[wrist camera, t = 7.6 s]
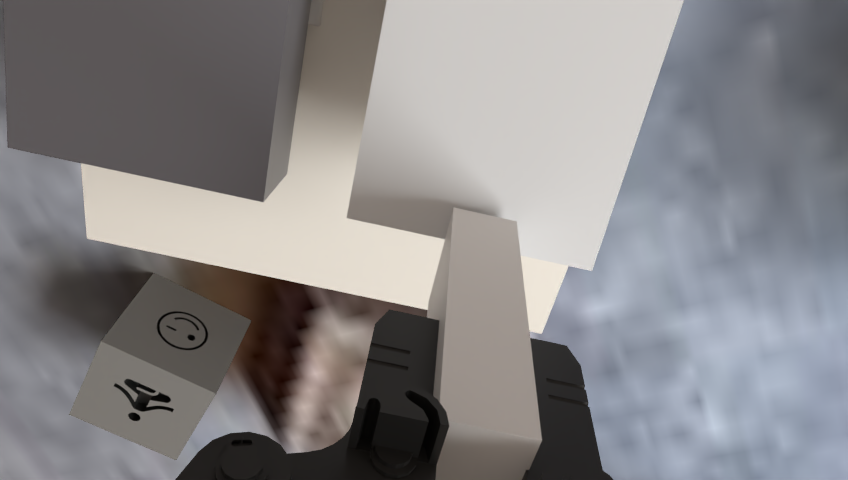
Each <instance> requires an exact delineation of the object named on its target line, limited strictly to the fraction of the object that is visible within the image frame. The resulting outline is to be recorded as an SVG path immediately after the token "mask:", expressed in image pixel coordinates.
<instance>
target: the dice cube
mask: <svg viewBox="0 0 848 480" xmlns="http://www.w3.org/2000/svg"><path fill="white" fill-rule="evenodd" d="M250 322H251V320H249V319H247V318H245V317H243V316H241V315H239V314H237V313H235V312H233V311H231V310H229V309H227V308H225V307H222V306H220V305H218V304H216V303H214V302H212V301H210V300H208V299H206V298H204V297H202V296H200V295H198V294H196V293H194V292H192V291H190V290H188V289H186V288H184V287H182V286H179V285H177V284H175V283H173V282H171V281H169V280H167V279H165V278H163V277H161V276H159V275H157V274H155V273H153V274H152V276H151V277H150V278H149V280H148V281H147V282H146V283H145V285H144V286H143V287H142V289H141V290H140V291H139V293H138V294H137V295H136V296H135V298H134V299H133V300H132V302H131V303H130V304H129V305H128V307H127V308H126V309H125V311H124V312H123V313H122V315H121V316H120V317H119V318H118V320H117V321H116V322H115V324H114V325H113V326H112V328H111V329H110V330H109V331H108V333H107V334H106V335H105V337H104V338H103V339H102V340H101V342H100V344H99V347H98V349H97V351H96V354H95V356H94V358H93V361H92V363H91V365H90V368H89V370H88V372H87V374H86V377H85V379H84V381H83V384H82V386H81V388H80V391H79V393H78V395H77V397H76V400H75V402H74V404H73V407H72V409H71V411H70V414H69V415H71V416H74V417H76V418H78V419H81V420H83V421H85V422H88V423H90V424H92V425H95V426H97V427H99V428H102V429H104V430H106V431H109V432H111V433H113V434H116V435H118V436H120V437H123V438H125V439H127V440H130V441H132V442H135V443H137V444H139V445H142V446H144V447H146V448H149V449H151V450H153V451H156V452H158V453H160V454H163V455H165V456H167V457H170V458H172V459H174V460H177V458H178V456H179V455H180V453H181V451H182V450H183V448H184V446H185V445H186V443H187V441H188V440H189V438H190V436H191V435H192V433H193V431H194V430H195V428H196V426H197V425H198V423H199V421H200V420H201V418H202V416H203V415H204V413H205V411H206V410H207V408H208V406H209V405H210V403H211V401H212V400H213V398H214V396H215V395H216V393H217V391H218V389H219V387H220V385H221V382H222V380H223V378H224V376H225V374H226V372H227V370H228V368H229V366H230V364H231V362H232V360H233V358H234V356H235V353H236V351H237V349H238V347H239V345H240V343H241V341H242V339H243V337H244V335H245V333H246V331H247V329H248V326H249V324H250Z"/></svg>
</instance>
